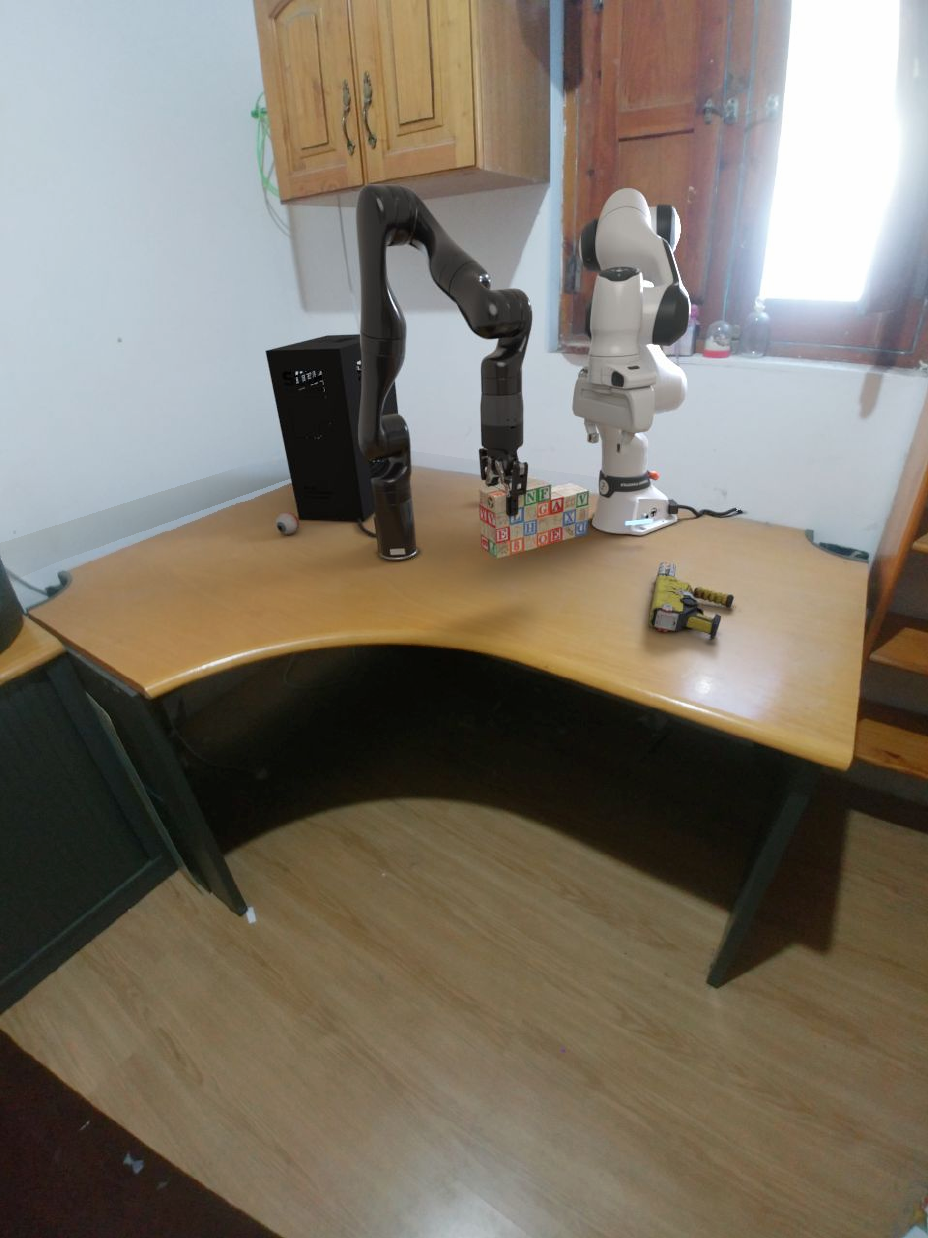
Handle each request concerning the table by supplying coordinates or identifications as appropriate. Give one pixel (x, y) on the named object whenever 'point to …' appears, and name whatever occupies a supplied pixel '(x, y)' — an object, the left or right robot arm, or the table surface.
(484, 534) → the stack of blocks
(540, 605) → the table surface
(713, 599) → the toy gun
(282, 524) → the eyeball
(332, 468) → the black computer tower
